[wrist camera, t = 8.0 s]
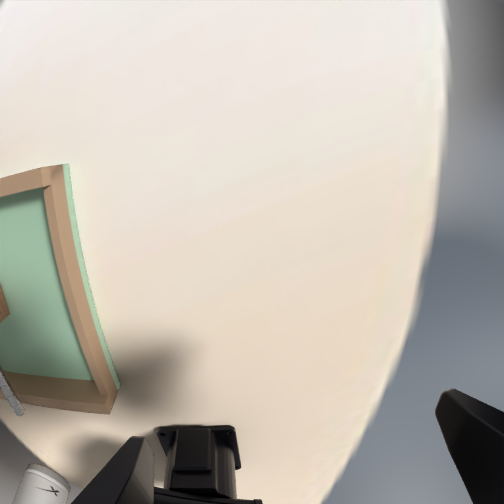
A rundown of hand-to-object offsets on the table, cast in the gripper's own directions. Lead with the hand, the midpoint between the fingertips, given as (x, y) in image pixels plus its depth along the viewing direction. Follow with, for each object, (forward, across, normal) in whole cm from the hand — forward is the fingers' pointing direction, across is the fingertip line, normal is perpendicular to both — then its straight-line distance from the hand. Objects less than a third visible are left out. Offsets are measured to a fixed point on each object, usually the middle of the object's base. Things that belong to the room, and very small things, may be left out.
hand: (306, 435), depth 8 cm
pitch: (+12, +18, 0) cm, 22 cm away
